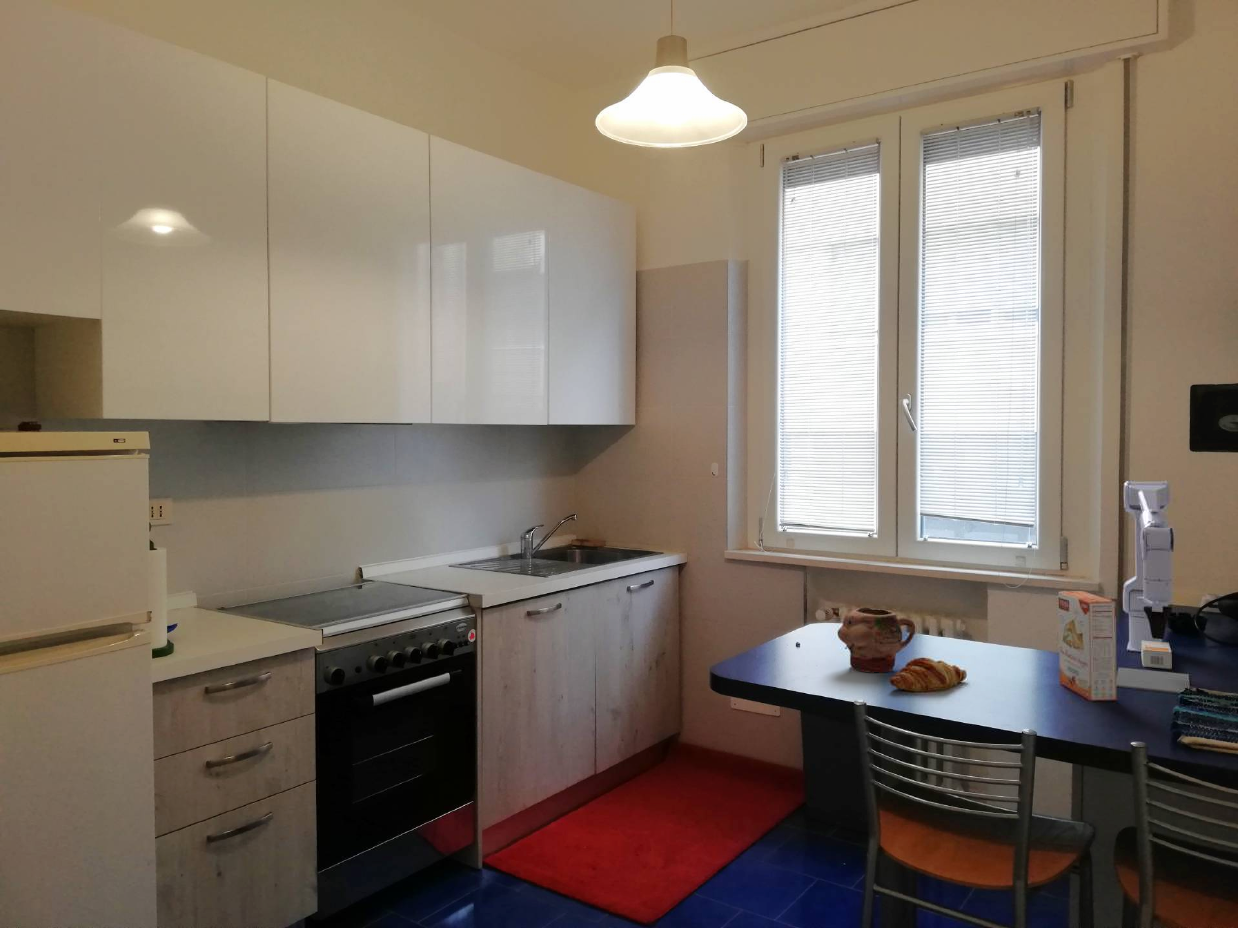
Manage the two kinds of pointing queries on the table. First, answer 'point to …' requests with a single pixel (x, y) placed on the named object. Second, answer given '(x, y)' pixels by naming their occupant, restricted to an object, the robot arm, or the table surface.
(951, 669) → the croissant
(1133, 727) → the table surface
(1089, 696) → the cracker box
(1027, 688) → the table surface
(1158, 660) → the skincare box
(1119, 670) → the rubber mat
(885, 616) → the brown sculpted mug
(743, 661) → the table surface
